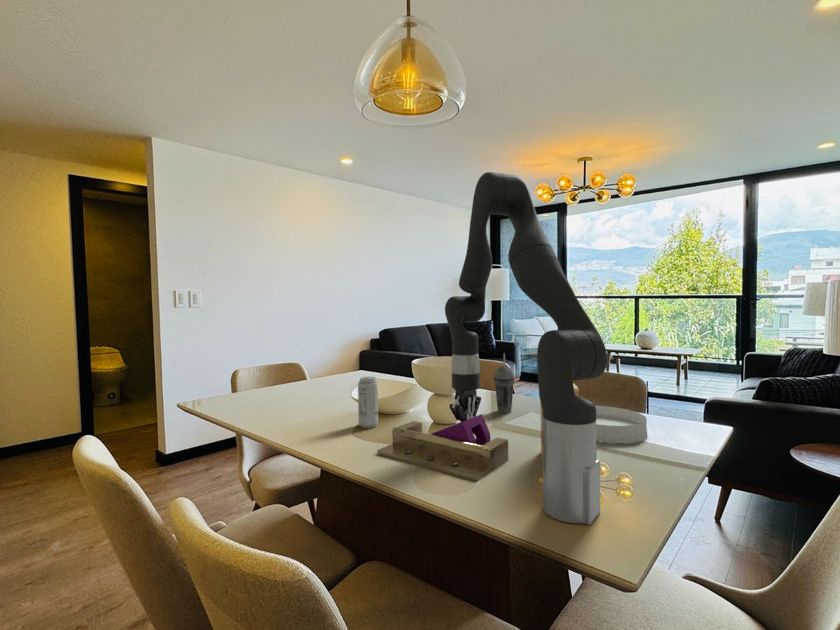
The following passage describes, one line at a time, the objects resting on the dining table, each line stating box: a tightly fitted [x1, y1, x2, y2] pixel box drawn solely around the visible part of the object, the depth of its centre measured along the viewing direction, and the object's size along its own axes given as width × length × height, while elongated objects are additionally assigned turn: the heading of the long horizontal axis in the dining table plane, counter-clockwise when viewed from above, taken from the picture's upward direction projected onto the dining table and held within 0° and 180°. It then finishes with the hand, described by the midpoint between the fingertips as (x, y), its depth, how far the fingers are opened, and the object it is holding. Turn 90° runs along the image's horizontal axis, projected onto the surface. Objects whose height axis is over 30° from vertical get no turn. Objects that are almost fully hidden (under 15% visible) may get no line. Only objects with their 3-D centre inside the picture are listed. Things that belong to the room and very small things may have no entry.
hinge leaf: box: [376, 420, 509, 482], centre depth 109 cm, size 29×15×5 cm, turn 53°
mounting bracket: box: [430, 413, 491, 445], centre depth 114 cm, size 10×8×18 cm
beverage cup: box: [493, 352, 516, 414], centre depth 152 cm, size 7×7×20 cm
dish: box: [595, 405, 648, 444], centre depth 128 cm, size 22×22×5 cm
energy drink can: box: [357, 376, 379, 429], centre depth 137 cm, size 6×6×15 cm
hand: (466, 434), depth 119 cm, fingers closed
